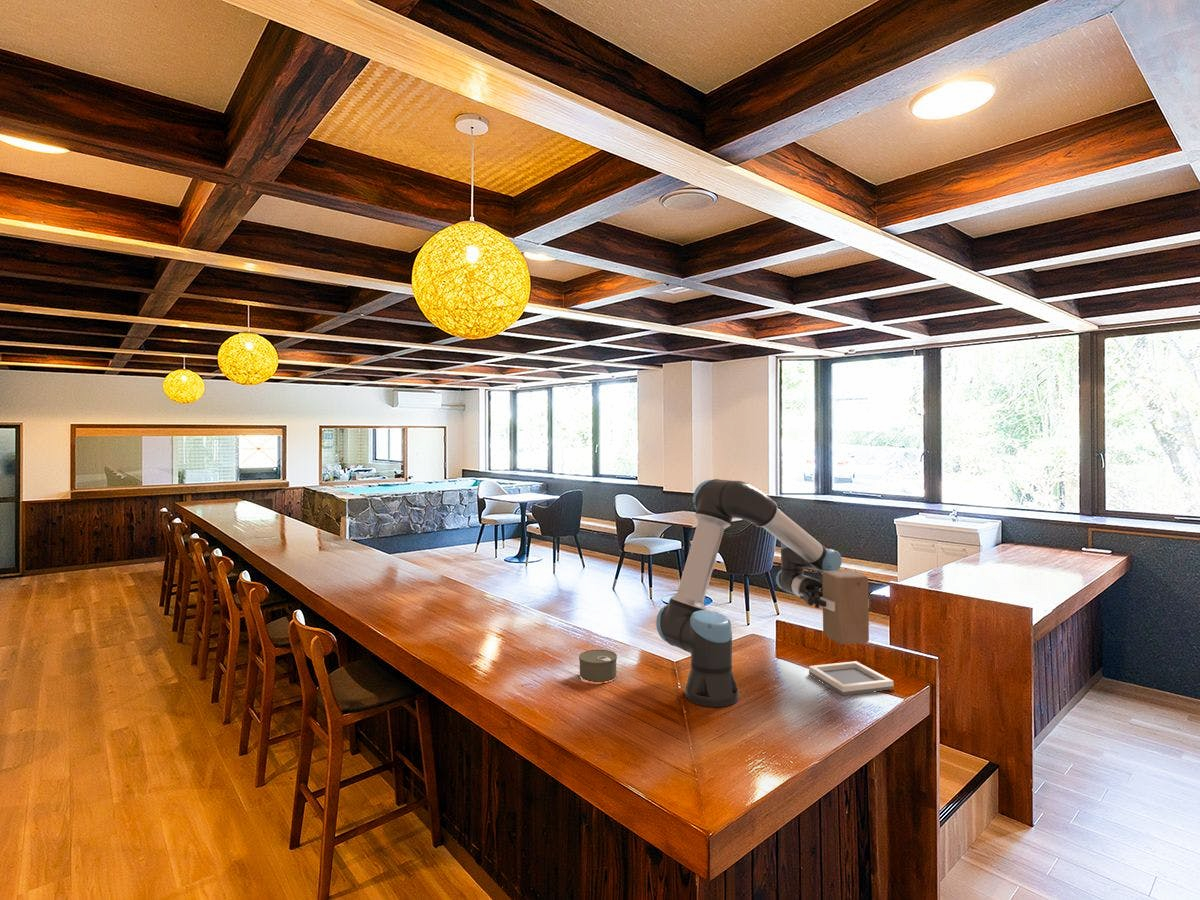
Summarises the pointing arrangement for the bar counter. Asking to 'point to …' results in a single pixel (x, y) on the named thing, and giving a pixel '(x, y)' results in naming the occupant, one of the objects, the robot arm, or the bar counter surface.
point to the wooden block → (846, 607)
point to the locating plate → (850, 678)
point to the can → (598, 665)
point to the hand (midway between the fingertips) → (851, 605)
